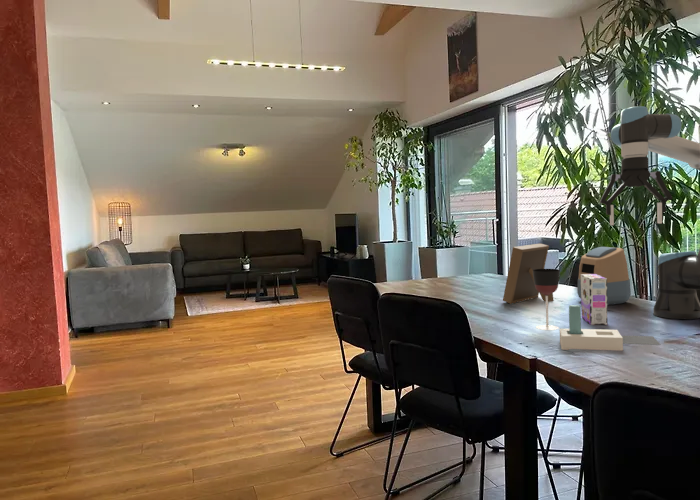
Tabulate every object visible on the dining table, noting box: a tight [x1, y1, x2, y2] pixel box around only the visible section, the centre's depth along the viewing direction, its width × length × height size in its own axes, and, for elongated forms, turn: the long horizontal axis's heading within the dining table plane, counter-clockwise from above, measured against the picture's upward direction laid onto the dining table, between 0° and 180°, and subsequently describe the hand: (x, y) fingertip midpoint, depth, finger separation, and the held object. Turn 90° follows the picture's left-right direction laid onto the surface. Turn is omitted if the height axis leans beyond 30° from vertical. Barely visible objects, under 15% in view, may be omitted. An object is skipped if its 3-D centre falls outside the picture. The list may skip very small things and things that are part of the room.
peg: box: [568, 304, 582, 334], centre depth 155 cm, size 3×3×12 cm
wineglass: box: [533, 268, 560, 331], centre depth 180 cm, size 8×9×20 cm
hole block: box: [559, 328, 624, 351], centre depth 154 cm, size 16×10×4 cm, turn 71°
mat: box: [621, 335, 661, 346], centre depth 157 cm, size 10×10×1 cm
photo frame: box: [502, 243, 554, 305], centre depth 231 cm, size 15×22×25 cm
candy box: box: [580, 274, 609, 326], centre depth 186 cm, size 14×6×16 cm, turn 168°
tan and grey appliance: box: [576, 246, 632, 306], centre depth 221 cm, size 17×17×23 cm
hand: (635, 224), depth 166 cm, fingers open, 13 cm apart
